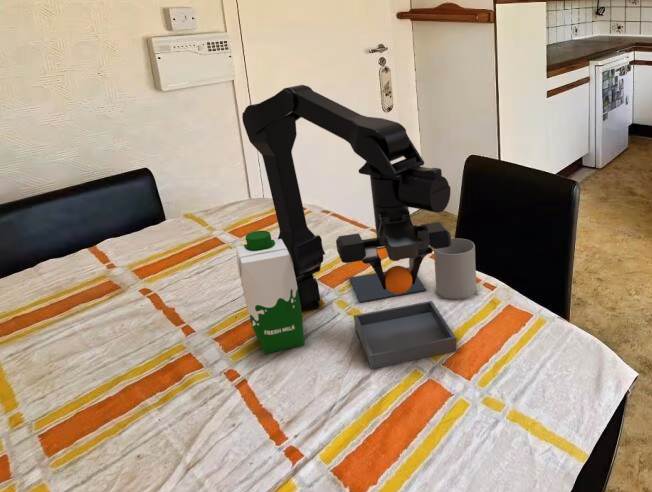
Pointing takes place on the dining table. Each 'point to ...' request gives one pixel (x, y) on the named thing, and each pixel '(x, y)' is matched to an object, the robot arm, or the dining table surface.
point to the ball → (398, 279)
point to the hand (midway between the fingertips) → (398, 286)
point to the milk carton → (270, 292)
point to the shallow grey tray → (404, 334)
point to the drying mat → (378, 288)
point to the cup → (455, 269)
